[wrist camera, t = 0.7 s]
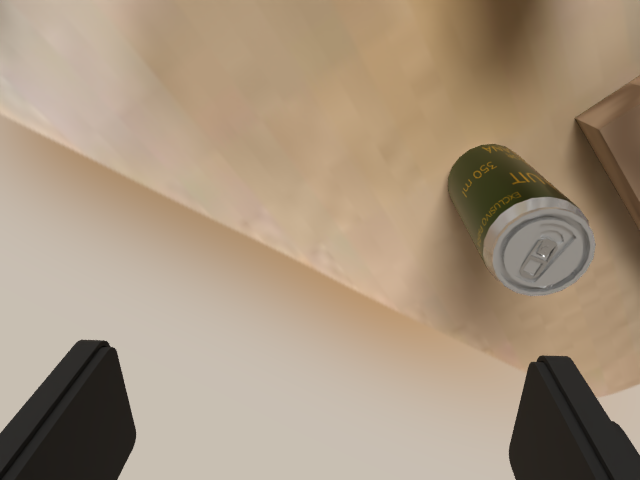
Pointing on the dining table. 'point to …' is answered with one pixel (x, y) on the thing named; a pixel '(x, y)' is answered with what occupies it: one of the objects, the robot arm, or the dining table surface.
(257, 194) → the dining table surface
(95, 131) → the dining table surface
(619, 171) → the block
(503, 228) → the beer can
